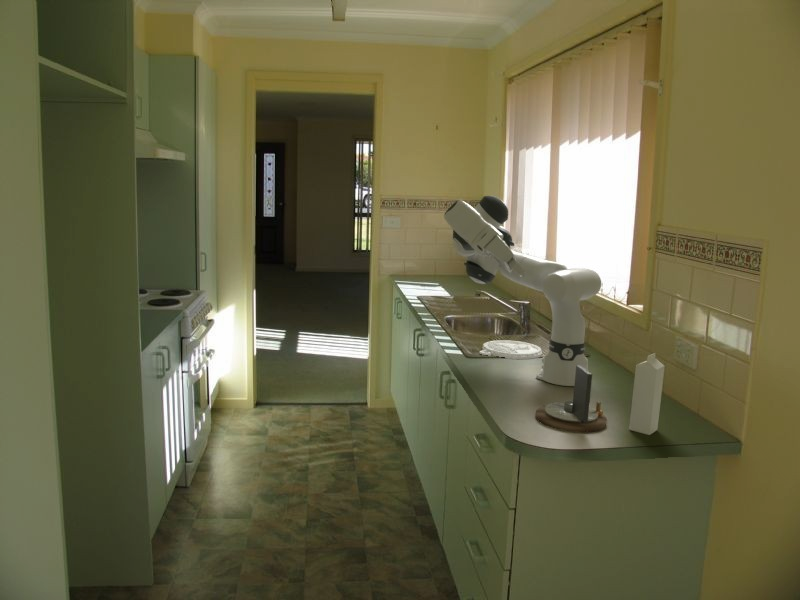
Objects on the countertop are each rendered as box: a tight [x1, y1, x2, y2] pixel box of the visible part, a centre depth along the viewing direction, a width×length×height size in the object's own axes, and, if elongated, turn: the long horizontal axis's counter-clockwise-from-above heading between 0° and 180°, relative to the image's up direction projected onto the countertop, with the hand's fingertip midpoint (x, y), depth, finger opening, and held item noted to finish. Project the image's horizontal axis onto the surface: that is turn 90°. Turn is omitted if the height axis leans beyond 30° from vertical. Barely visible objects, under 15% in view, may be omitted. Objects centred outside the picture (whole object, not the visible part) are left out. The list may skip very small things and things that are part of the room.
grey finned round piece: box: [544, 365, 604, 423], centre depth 206 cm, size 18×17×15 cm
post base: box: [535, 401, 607, 433], centre depth 209 cm, size 20×20×5 cm
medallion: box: [479, 339, 543, 360], centre depth 288 cm, size 24×27×2 cm
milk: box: [628, 352, 666, 436], centre depth 202 cm, size 6×6×22 cm
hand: (523, 274), depth 208 cm, fingers closed
